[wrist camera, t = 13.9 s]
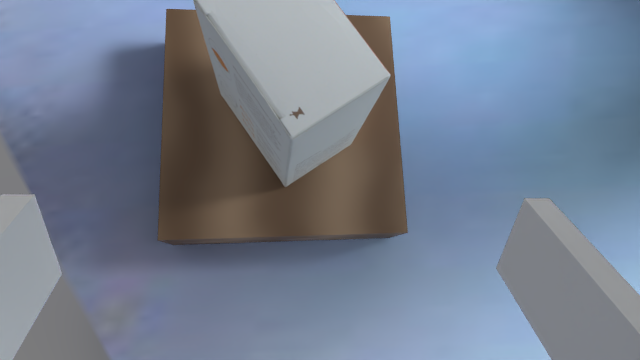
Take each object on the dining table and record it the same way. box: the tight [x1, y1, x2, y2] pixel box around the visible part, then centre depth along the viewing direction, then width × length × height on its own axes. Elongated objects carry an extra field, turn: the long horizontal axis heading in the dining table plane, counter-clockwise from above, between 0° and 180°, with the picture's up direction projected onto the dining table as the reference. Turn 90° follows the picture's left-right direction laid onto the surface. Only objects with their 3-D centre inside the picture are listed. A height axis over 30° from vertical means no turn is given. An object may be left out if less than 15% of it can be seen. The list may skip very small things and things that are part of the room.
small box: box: [193, 0, 391, 187], centre depth 24 cm, size 8×6×10 cm
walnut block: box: [158, 9, 408, 245], centre depth 31 cm, size 16×16×5 cm
